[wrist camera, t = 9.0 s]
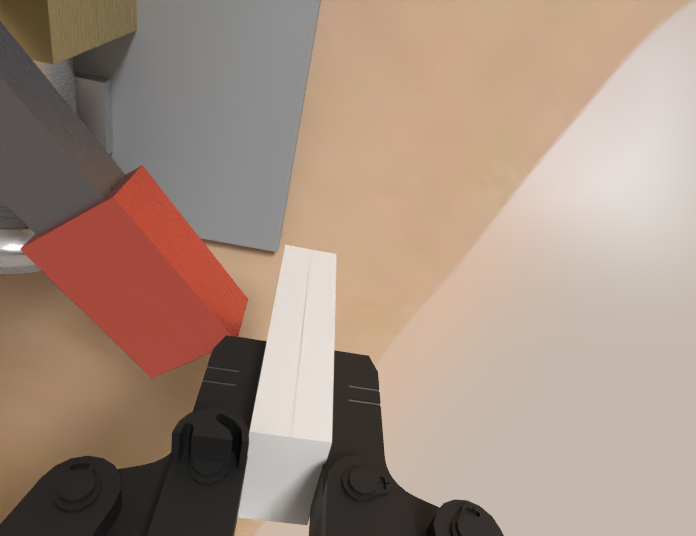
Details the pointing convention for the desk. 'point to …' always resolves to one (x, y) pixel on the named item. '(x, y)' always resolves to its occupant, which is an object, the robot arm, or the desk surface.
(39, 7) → the valve
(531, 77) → the desk surface
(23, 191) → the lever
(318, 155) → the desk surface
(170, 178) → the mat
